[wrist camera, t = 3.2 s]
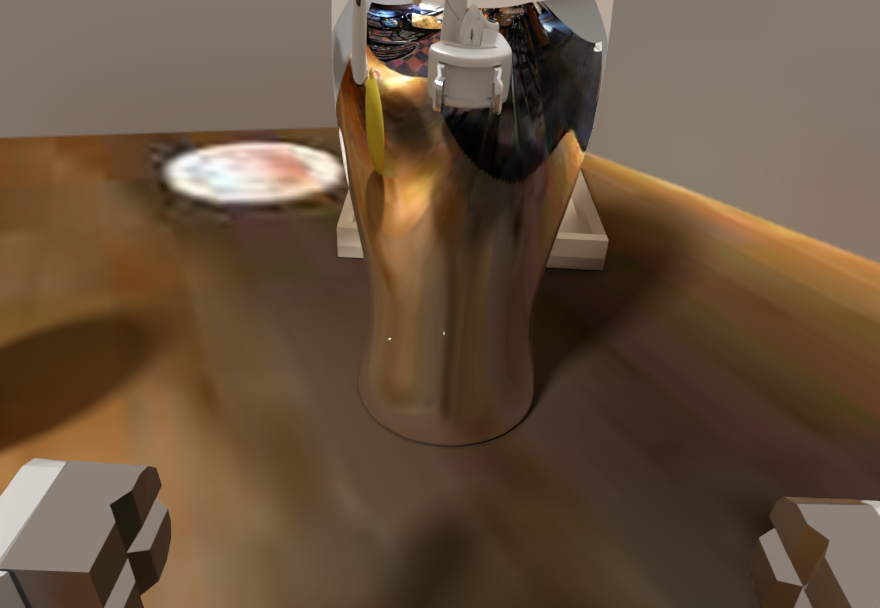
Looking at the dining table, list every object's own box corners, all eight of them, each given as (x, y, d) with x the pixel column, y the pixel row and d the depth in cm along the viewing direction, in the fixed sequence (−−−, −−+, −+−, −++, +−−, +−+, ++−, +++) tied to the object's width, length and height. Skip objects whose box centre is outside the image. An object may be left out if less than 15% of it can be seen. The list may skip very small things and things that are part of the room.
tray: (337, 256, 31) (336, 227, 30) (365, 164, 40) (365, 140, 39) (602, 270, 31) (608, 240, 30) (569, 175, 40) (573, 151, 39)
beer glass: (355, 323, 26) (342, -135, 18) (533, 329, 27) (600, -121, 18) (333, 455, 21) (300, -131, 12) (560, 461, 21) (678, -110, 13)
